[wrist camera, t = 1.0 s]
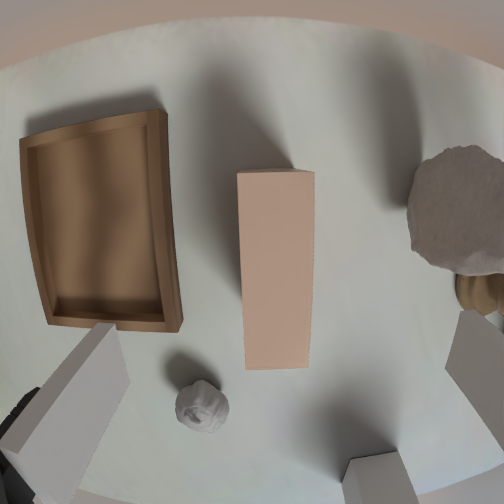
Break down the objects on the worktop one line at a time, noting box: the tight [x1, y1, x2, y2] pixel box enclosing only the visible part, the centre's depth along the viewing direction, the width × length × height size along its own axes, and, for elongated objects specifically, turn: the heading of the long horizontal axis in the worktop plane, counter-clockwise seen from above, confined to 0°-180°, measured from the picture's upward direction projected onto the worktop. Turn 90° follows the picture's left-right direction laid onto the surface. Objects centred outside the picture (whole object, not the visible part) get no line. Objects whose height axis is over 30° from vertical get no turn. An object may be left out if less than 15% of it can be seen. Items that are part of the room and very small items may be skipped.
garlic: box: [175, 380, 229, 433], centre depth 29 cm, size 6×5×5 cm
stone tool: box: [407, 145, 504, 276], centre depth 18 cm, size 9×3×15 cm, turn 172°
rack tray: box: [19, 109, 183, 333], centre depth 25 cm, size 14×18×2 cm
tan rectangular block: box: [237, 168, 314, 370], centre depth 22 cm, size 4×12×9 cm, turn 2°
